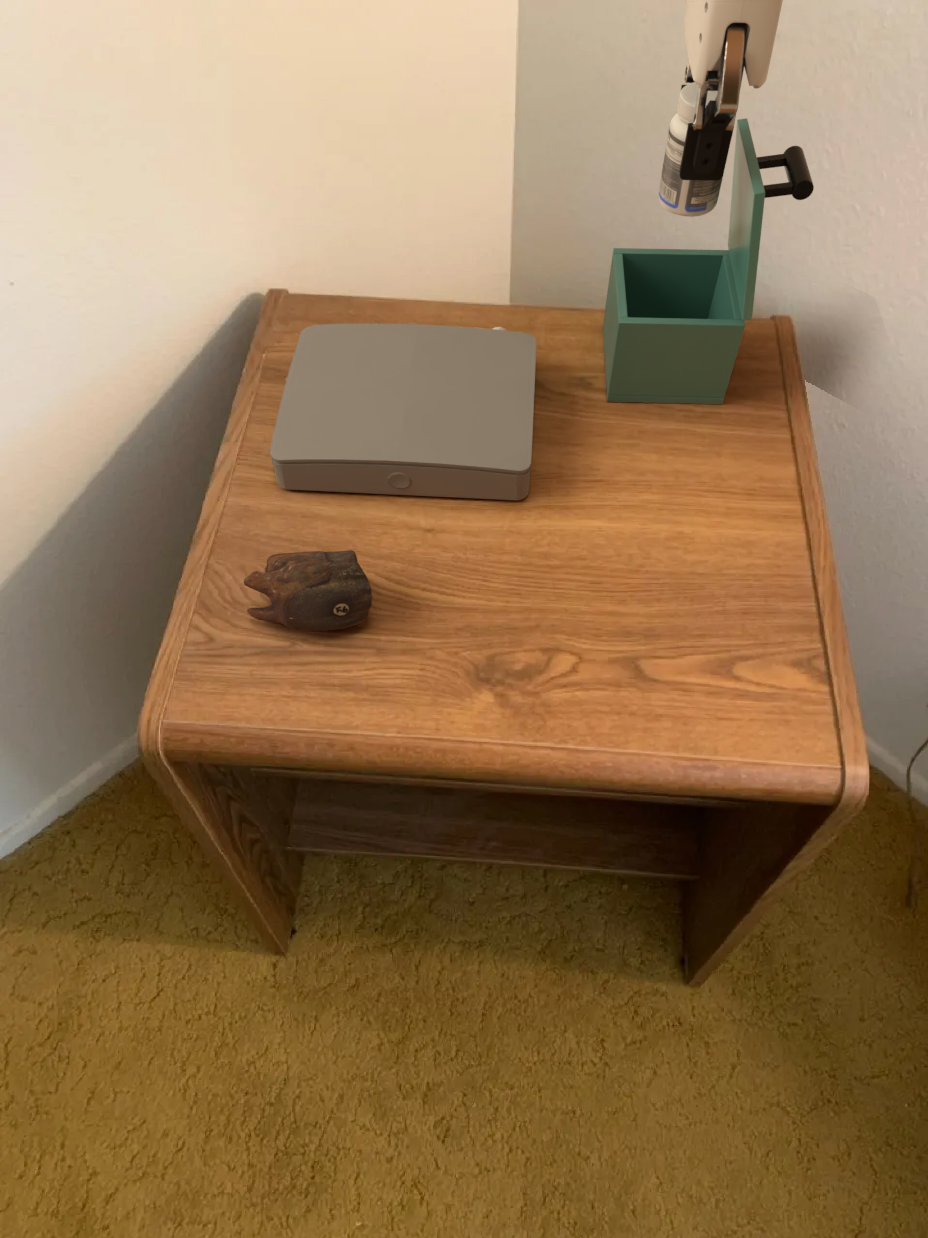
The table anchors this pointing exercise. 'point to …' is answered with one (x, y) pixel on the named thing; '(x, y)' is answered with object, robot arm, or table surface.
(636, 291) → the green box
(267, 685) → the table surface
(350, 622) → the dark brown rock
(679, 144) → the pill bottle
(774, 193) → the lid
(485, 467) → the electronic device
